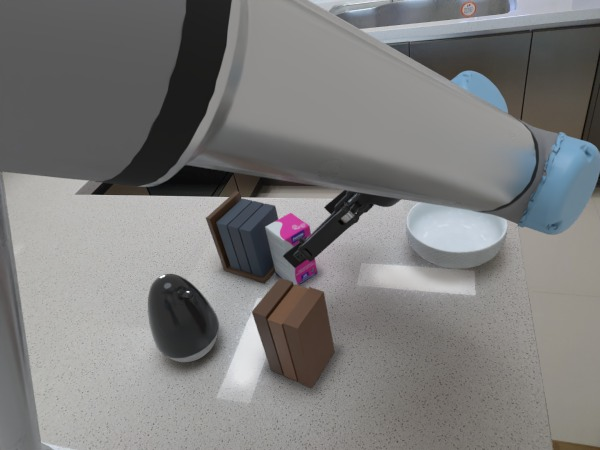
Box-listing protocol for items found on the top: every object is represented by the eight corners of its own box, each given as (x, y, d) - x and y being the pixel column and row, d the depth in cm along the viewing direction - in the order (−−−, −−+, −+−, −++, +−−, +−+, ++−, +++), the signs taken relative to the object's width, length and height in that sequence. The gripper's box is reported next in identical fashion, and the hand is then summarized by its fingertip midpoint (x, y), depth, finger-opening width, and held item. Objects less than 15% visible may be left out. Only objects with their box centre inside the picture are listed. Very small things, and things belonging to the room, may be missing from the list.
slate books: (264, 283, 84) (249, 229, 77) (223, 270, 89) (205, 217, 82) (290, 253, 90) (278, 199, 82) (250, 242, 95) (235, 190, 87)
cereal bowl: (510, 285, 75) (515, 252, 71) (405, 282, 79) (404, 251, 75) (496, 221, 88) (500, 190, 84) (407, 222, 92) (406, 193, 88)
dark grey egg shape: (197, 382, 69) (163, 315, 60) (150, 358, 75) (113, 293, 66) (238, 333, 76) (213, 265, 67) (192, 314, 81) (163, 249, 72)
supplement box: (293, 290, 82) (282, 240, 75) (275, 274, 86) (262, 226, 79) (319, 273, 84) (310, 224, 77) (299, 259, 88) (289, 210, 82)
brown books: (312, 388, 66) (297, 328, 58) (270, 370, 69) (251, 311, 61) (334, 351, 70) (323, 291, 62) (294, 336, 74) (279, 277, 66)
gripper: (376, 248, 52) (288, 302, 68) (443, 145, 68) (359, 209, 84) (329, 201, 52) (251, 267, 68) (408, 108, 68) (330, 180, 84)
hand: (311, 235), depth 76 cm, fingers open, 13 cm apart
